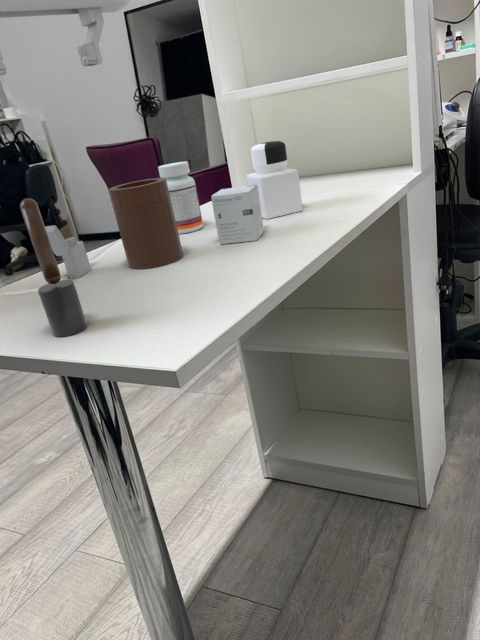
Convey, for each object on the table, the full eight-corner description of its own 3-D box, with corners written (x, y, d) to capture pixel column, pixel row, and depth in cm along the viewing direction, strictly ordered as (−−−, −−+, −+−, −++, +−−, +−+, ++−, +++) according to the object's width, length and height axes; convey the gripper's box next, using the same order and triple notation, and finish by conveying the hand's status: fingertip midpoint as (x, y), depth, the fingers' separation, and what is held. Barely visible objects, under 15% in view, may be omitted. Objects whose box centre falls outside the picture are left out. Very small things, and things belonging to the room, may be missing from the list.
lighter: (81, 270, 81) (64, 217, 78) (91, 268, 81) (75, 215, 78) (58, 285, 75) (39, 228, 72) (70, 284, 75) (51, 227, 71)
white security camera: (287, 206, 101) (278, 138, 96) (303, 210, 95) (294, 138, 90) (252, 214, 99) (240, 146, 94) (266, 219, 93) (254, 146, 88)
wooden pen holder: (121, 272, 76) (99, 193, 72) (139, 256, 84) (120, 183, 79) (175, 265, 75) (156, 184, 71) (188, 249, 82) (172, 175, 78)
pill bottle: (174, 228, 100) (160, 164, 95) (207, 223, 99) (193, 159, 94) (166, 236, 94) (150, 169, 89) (200, 231, 93) (186, 163, 88)
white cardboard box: (219, 245, 82) (209, 195, 79) (228, 235, 87) (219, 188, 84) (258, 240, 80) (249, 190, 77) (265, 230, 86) (257, 183, 82)
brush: (47, 338, 56) (-1, 204, 50) (62, 325, 59) (19, 197, 54) (79, 335, 55) (34, 199, 50) (92, 321, 59) (52, 192, 53)
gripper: (91, -92, 53) (128, 64, 59) (-150, -109, 42) (-76, 87, 48) (120, -118, 49) (157, 54, 54) (-142, -144, 37) (-60, 76, 43)
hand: (46, 70), depth 51 cm, fingers open, 8 cm apart
